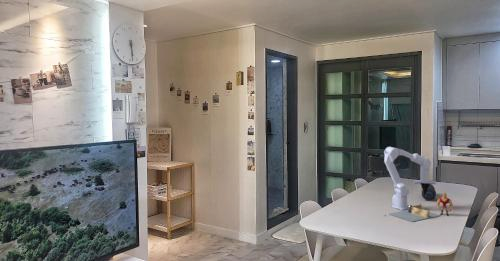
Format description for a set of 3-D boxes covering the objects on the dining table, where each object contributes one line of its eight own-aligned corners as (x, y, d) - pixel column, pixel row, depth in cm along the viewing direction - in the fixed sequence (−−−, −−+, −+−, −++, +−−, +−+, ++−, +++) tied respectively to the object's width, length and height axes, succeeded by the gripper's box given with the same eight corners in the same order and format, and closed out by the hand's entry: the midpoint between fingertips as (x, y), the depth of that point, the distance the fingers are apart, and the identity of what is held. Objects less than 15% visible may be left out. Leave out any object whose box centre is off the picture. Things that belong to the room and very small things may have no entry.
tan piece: (411, 212, 240) (411, 206, 240) (412, 212, 240) (412, 205, 240) (428, 217, 228) (428, 210, 228) (429, 216, 229) (429, 210, 229)
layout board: (388, 214, 239) (388, 213, 239) (416, 209, 250) (416, 208, 250) (412, 222, 222) (412, 221, 222) (440, 216, 233) (440, 215, 233)
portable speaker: (420, 193, 294) (420, 181, 293) (434, 194, 290) (434, 182, 289) (421, 201, 271) (421, 188, 270) (436, 202, 267) (436, 189, 266)
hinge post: (407, 211, 242) (407, 205, 242) (410, 211, 243) (410, 204, 243) (410, 212, 240) (410, 206, 240) (413, 212, 241) (413, 205, 241)
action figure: (435, 214, 236) (436, 192, 236) (436, 213, 239) (437, 190, 238) (452, 216, 231) (452, 193, 230) (453, 215, 234) (453, 192, 233)
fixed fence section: (411, 211, 243) (411, 204, 242) (420, 209, 246) (420, 203, 246) (412, 211, 241) (412, 205, 241) (421, 209, 245) (421, 203, 245)
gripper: (414, 175, 252) (414, 194, 253) (437, 176, 247) (437, 195, 248) (413, 173, 258) (413, 192, 259) (435, 174, 253) (435, 193, 254)
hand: (424, 194), depth 254 cm, fingers closed
